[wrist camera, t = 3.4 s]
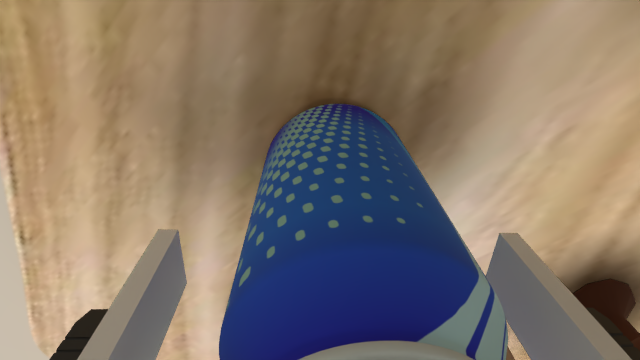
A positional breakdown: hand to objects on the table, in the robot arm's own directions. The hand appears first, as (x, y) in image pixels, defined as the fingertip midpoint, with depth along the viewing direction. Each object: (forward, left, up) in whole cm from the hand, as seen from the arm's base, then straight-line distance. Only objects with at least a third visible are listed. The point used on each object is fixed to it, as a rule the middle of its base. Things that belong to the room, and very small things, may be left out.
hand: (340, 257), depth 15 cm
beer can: (0, 0, -9) cm, 9 cm away
